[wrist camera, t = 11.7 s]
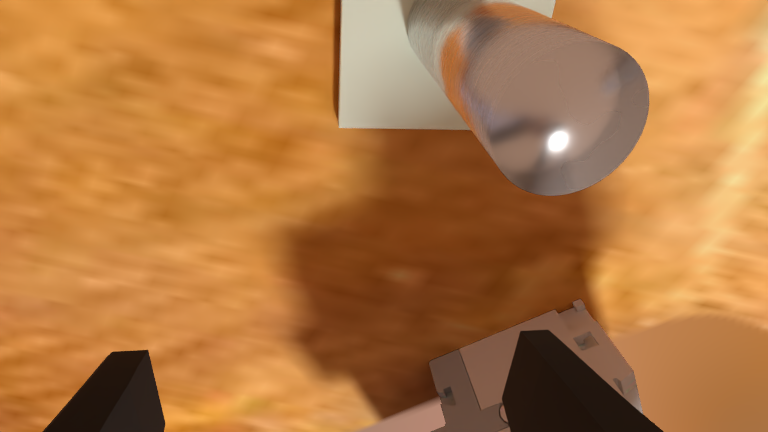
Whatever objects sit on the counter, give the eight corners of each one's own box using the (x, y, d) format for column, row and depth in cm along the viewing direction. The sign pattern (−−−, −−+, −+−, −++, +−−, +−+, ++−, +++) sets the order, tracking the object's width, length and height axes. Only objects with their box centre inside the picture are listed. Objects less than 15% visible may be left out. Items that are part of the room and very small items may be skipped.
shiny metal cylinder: (405, 69, 17) (482, 198, 9) (408, -22, 15) (504, 41, 8) (485, 68, 17) (624, 192, 10) (496, -21, 16) (670, 40, 8)
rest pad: (337, 122, 18) (338, 128, 18) (343, -108, 15) (344, -109, 14) (520, 125, 19) (526, 130, 19) (566, -88, 16) (575, -88, 15)
